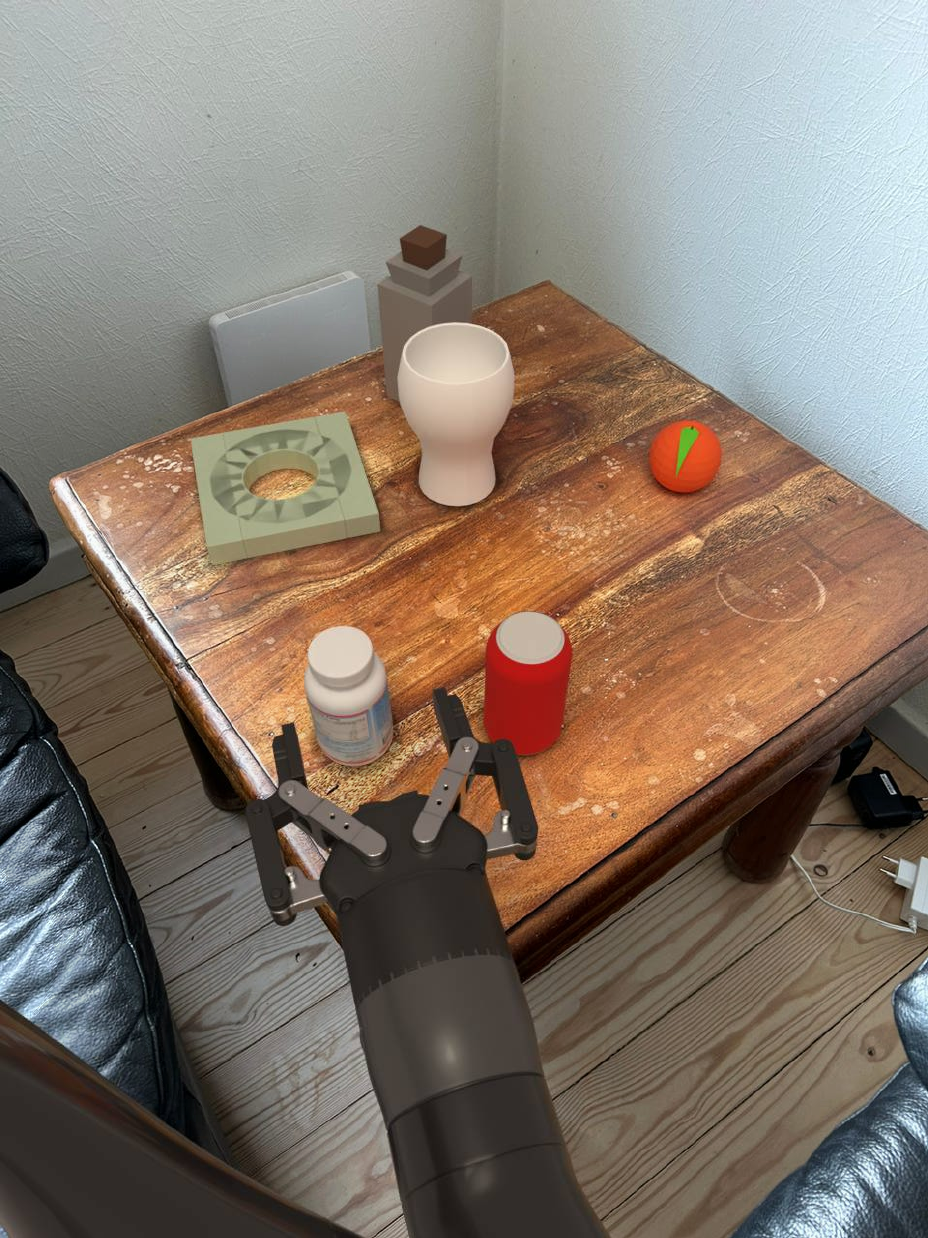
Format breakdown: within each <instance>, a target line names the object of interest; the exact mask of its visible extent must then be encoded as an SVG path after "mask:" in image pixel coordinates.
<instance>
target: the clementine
mask: <svg viewBox="0 0 928 1238" xmlns="http://www.w3.org/2000/svg"><path fill="white" fill-rule="evenodd" d="M722 455H723V449H722V445H721V443H720V440H719V438H718V436H717V435H716V434H715V433H714V431H713V430H712V429H711V428H710V427H709V426H708V425H705V424H703V423H701V422H698V421H696V420H695V421H694V420H679V421H674V422H673V423H670V424H669V425H667V426H665V427H664V428H663V429H661V430H660V431H659V432H658V434H657V435H656V436H655V438H654V439H653V441H652V442H651V446H650V450H649V455H648V456H649V457H648V461H649V462H648V463H649V467H650V470H651V473H652V474H653V475H652V476H654V478H655V479H656V480H657V481H658V482H659V483H660V485H662V486H663V487H664V488H666V489H668V490H670V491H673V492H675V493H676V492H677V493H691V492H695V491H697V490H701V489H702V488H704V487H706V486H708V484H709V483H711V482H712V480H714V479H715V477H716V476H717V474H718V472H719V470H720V467H721V465H722V459H723V457H722Z"/></svg>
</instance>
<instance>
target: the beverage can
mask: <svg viewBox="0 0 928 1238" xmlns="http://www.w3.org/2000/svg"><path fill="white" fill-rule="evenodd" d="M572 662H573V645H572V642H571V639H570V637H569V634H568V633H567V632H566V630H565V629H564V628H563V626H561V625H560V623H559V622H558V621H557V620H556V619H554V618H553V617H551V616H550V615H548V614H546V613H543V612H539V611H534V610H526V611H519V612H515V613H513V614H511V615H509V616H507V617H506V618H504V619H503V620H502V621H501V622H500V623H498V624H497V625H496V626H495V627H494V628H493V629H492V631H491V632H490V634H489V636H488V638H487V641H486V645H485V663H484V664H485V665H484V667H485V668H484V669H485V670H484V703H483V725H484V730H485V733H486V734H487V736H488V738H489V739H490V740H491V742H492V743H494V742H495V741H496V740H498V739H507V740H509V741H511V742H512V743H513V745H514V748H515V751H516V754H517V756H532V755H537V754H540V753H542V752H545V751H547V750H548V749H549V748H551V747H552V746H553V745H554V744H555V743H556V742H557V740H558V738H559V737H560V734H561V733H562V728H563V723H564V715H565V709H566V701H567V695H568V688H569V681H570V675H571V669H572Z"/></svg>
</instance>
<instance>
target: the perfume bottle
mask: <svg viewBox="0 0 928 1238" xmlns="http://www.w3.org/2000/svg"><path fill="white" fill-rule="evenodd" d="M447 237H448V234H446V233H445V232H444V233H443V232H441V231H438V230H436V229H433V228H430V227H427V226H424V225H422V224H420V225H417V226H416V227H415V228H413V229H412V230H410V231H409V232H407V233H405V234H404V235H403V236H401V237H399V243H400V250H401V251H399V252H398V253H396V254H395V255H393V256H392V257H390V258H388V259H387V260H386V261H385V265H386V268H387V270H388V273H389V275H388V276H387V277H385V278H384V279H382V280H381V281H379V282H378V283H376V284H377V298H378V309H379V319H380V333H381V334H380V335H381V345H382V359H383V368H384V369H383V373H384V382H385V395H386V397H387V398H389V399H391V400H394V401H395V402H398V403H400V400H399V393H398V379H397V377H398V372H399V367H400V362H401V357H402V352H403V348H404V345H405V344H406V343H407V341H408V340H409V339H410V337H412V336H413V335H414V334H416V333H417V332H419V331H421V330H423V329H425V328H427V327H430V326H434V325H438V324H443V323H454V322H456V323H470V324H473V275H472V274H469V273H466V272H464V271H462V270H459V269H460V266H461V262H462V259H463V254H460V253H458V252H455V251H452V250H449V249H447V239H448V238H447Z"/></svg>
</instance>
